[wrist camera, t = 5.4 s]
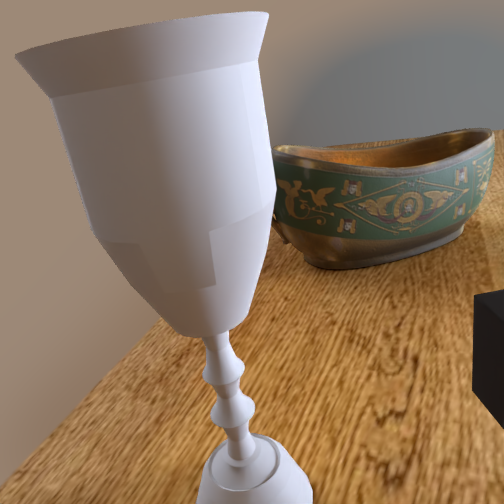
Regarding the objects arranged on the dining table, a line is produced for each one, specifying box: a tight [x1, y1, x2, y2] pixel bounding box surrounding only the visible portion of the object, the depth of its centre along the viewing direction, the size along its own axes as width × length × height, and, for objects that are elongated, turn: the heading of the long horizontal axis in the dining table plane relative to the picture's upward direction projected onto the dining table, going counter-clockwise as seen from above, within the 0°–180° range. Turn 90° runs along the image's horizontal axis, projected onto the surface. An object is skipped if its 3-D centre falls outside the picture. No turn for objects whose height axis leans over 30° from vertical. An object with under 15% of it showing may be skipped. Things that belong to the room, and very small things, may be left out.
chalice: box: [15, 12, 313, 504], centre depth 16 cm, size 7×7×18 cm
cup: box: [271, 128, 495, 269], centre depth 40 cm, size 13×20×10 cm, turn 72°
